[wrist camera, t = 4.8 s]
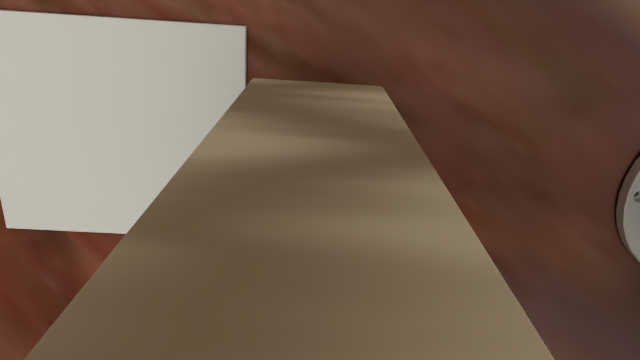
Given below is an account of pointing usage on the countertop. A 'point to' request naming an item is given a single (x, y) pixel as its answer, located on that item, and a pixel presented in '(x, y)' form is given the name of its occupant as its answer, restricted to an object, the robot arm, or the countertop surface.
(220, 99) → the mat
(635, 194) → the robot arm
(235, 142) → the slab
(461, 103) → the countertop surface
